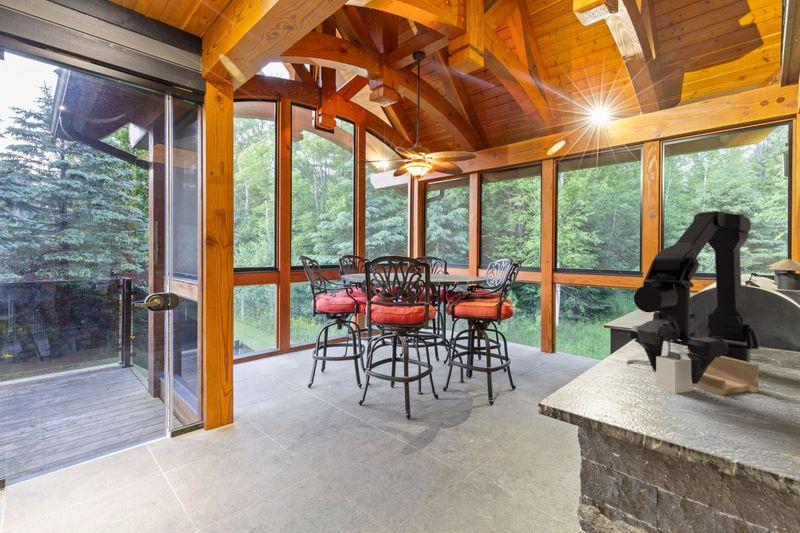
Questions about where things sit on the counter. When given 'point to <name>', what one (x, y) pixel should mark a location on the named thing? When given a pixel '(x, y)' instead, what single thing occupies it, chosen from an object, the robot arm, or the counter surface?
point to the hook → (646, 360)
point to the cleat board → (729, 376)
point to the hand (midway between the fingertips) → (674, 376)
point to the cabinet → (673, 373)
